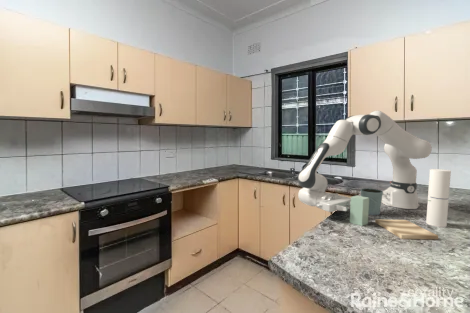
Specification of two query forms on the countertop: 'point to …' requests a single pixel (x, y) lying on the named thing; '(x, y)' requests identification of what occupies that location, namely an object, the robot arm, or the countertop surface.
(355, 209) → the mint green rectangular block
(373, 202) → the teal plant pot
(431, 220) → the cylindrical container
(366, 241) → the countertop surface
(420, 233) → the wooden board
